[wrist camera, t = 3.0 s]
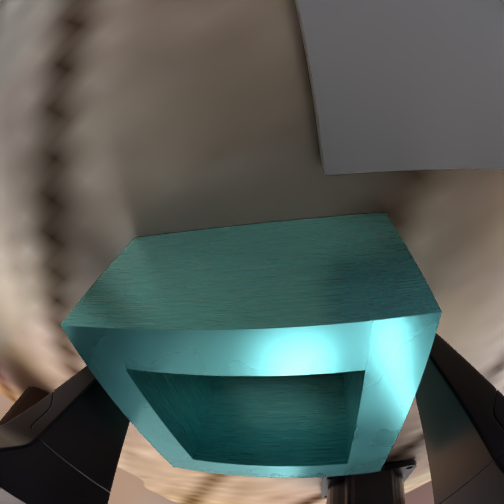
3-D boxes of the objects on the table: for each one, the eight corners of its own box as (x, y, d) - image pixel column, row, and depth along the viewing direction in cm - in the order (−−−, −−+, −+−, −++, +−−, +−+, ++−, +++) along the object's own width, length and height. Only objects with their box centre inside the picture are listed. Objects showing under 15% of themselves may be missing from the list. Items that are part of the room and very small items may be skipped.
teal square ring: (369, 382, 11) (380, 471, 8) (197, 386, 12) (173, 466, 9) (385, 212, 8) (441, 311, 4) (134, 237, 9) (60, 324, 6)
